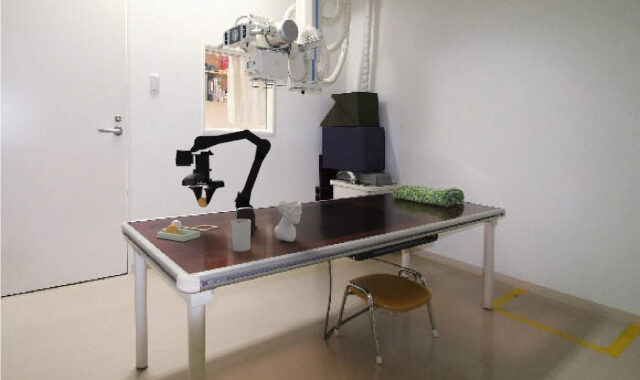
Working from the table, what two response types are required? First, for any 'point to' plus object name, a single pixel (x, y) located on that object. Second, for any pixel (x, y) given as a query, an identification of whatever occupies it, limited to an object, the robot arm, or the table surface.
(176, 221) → the white ball
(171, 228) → the orange ball
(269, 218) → the table surface
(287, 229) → the white figurine
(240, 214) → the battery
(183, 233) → the green dish
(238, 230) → the drinking glass
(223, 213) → the table surface
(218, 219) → the table surface
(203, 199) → the orange ball
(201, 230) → the collar
